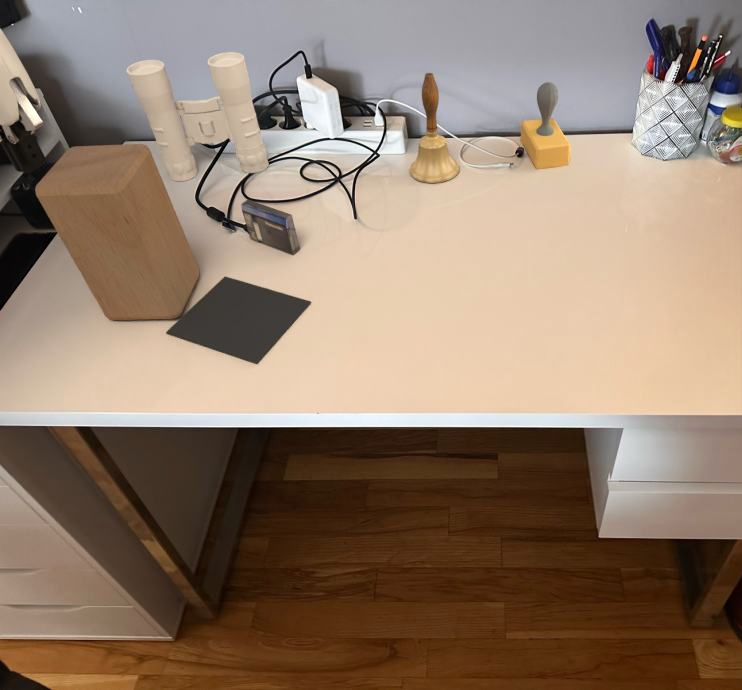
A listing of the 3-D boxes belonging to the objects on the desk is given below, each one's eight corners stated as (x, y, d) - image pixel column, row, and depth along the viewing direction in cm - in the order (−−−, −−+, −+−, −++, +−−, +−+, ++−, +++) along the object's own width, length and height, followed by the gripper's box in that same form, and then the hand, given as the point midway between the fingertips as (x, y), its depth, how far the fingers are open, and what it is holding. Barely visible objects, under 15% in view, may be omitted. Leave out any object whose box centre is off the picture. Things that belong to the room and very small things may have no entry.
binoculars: (271, 156, 116) (245, 50, 103) (270, 172, 112) (243, 64, 100) (169, 167, 114) (129, 61, 102) (165, 184, 110) (123, 76, 98)
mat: (257, 364, 81) (256, 362, 81) (166, 333, 85) (165, 332, 85) (311, 302, 89) (310, 301, 88) (225, 277, 93) (224, 276, 93)
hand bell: (409, 159, 114) (400, 65, 103) (458, 156, 114) (454, 62, 103) (409, 185, 108) (400, 88, 97) (460, 182, 108) (457, 85, 97)
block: (181, 321, 86) (117, 185, 72) (105, 323, 87) (27, 188, 73) (203, 272, 93) (149, 140, 79) (133, 274, 94) (67, 143, 80)
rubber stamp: (520, 140, 117) (522, 72, 109) (552, 136, 118) (557, 68, 110) (535, 169, 111) (539, 99, 102) (569, 164, 111) (576, 94, 103)
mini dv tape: (250, 239, 99) (240, 204, 95) (257, 233, 100) (247, 199, 96) (293, 255, 96) (284, 220, 92) (300, 249, 97) (291, 214, 93)
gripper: (-137, 11, 69) (-37, 170, 82) (-36, 30, 64) (53, 195, 77) (-71, -13, 73) (14, 141, 86) (28, 3, 69) (101, 163, 82)
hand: (32, 166), depth 82 cm, fingers closed
